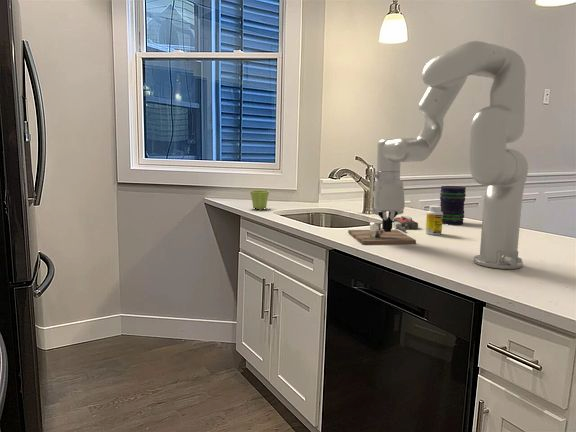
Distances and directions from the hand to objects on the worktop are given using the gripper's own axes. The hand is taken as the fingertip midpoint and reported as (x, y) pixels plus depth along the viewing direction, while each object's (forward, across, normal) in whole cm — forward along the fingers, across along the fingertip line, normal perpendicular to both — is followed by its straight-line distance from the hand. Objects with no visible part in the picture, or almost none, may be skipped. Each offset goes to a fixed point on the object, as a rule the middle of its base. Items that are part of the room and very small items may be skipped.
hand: (387, 231), depth 166 cm
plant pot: (+1, -39, +75) cm, 84 cm away
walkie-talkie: (+4, +15, +23) cm, 28 cm away
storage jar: (+3, +38, +33) cm, 50 cm away
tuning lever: (+2, -2, +4) cm, 5 cm away
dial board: (+3, -1, +4) cm, 5 cm away
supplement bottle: (+4, +21, +10) cm, 24 cm away
